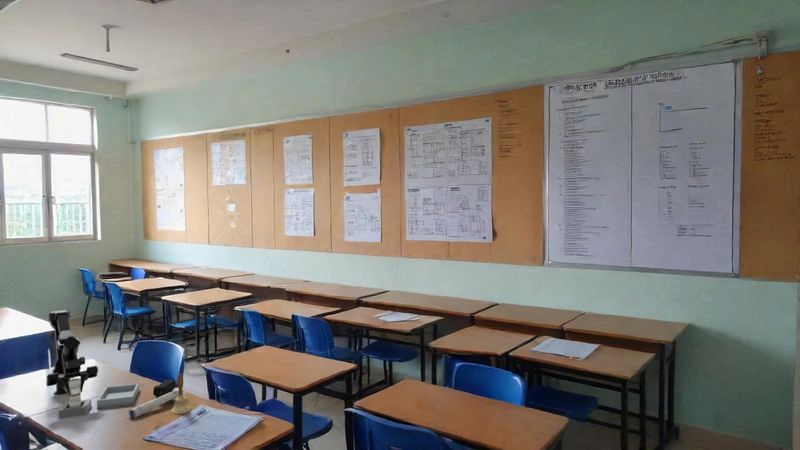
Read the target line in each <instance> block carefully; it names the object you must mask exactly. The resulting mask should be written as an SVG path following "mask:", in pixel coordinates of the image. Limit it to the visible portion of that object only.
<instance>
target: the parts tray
mask: <svg viewBox="0 0 800 450" xmlns="http://www.w3.org/2000/svg"><path fill="white" fill-rule="evenodd" d="M139 391H140V384H139V383H131V384H130V383H129V384H121V385H120V384H119V385H113V386H112V385H111V386H105V388H104V389H103V390H102V391H101V393H100V395H99V396H98V398H97V400H96V409H103V408H104V409H105V408H111V407H113V408H114V407H120V406H121V407H122V406H128V405H129V406H130V405H133V404H134V402H135V401H136V398H137V396H138V394H139Z"/></svg>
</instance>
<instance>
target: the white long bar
mask: <svg viewBox="0 0 800 450" xmlns="http://www.w3.org/2000/svg"><path fill="white" fill-rule="evenodd" d="M182 390H183V396H185V397H186V395H187V394H186V391H184V389H183V388H182ZM177 397H179V389H178V387H175V389H174V390H173V391H172V392H170V393H167V394H165V395H163V396H160V397H158V398H156V397H155V398H154V399H151V400H148V401H147V402H144V403H141V404H139V405H136V406H135V407H133V408H132V409H130V410H129V411H128V416H129V417H130V418H131V419H136V418H138V417H142V416H143V415H144V414H146V413H148V412H150V411H152V410H153V409H155V408H157V407H159V406H161V405H163V404H166V403H167V402H170V401H171V400H172V403H173V404H175V399H176V398H177Z"/></svg>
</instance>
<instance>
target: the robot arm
mask: <svg viewBox="0 0 800 450" xmlns="http://www.w3.org/2000/svg"><path fill="white" fill-rule="evenodd" d="M69 319H71V312H70V310H69V311H67V309H62V310H61V309H59V310H53V311H50V313H48V314H47V320H48V322H49V325H50V326H51V328H53V330H54V335H55V336H54V338H55V349H56V350H55V351H56V362H54V365H53V368H52V370H51V373H48V374H47V375H46V381H45V384H46V386H47V387H52V386H55V388H56V390H55V391H54V392H53V395H61V394H67V395H68V396H69V395H70V390H69V380H71V379H75V378H77V377H79V379H81V387H80V392H81V393H83V388H84V384H85V383H86V381H88V380H89V379H92V378H96V377H97V376H98V372H99V368H98V366H97V365H92V366H87V367H86V370H81V369H82V368H81V366H83V365H85V364H86V359H85V356H80V357H79V358H78V352H79V348H80V345H81V341H80V340H79V339H78V337H76V334H75V333H74V332H72V331H71V328H70V323H69Z"/></svg>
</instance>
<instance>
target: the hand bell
mask: <svg viewBox="0 0 800 450" xmlns="http://www.w3.org/2000/svg"><path fill="white" fill-rule="evenodd" d="M176 385H177V388H178V389H179V397H177V398H176V399H175V403H174V404H173V405H174V406H173V407H172V409H171V410H170V413H171V414H172V415H184V414H186V413H188V412H191V410H192V406H190V405H189V403H188V400H187V396H186V395H185V396H183V392H184V389H183V387H184V378H183V375H182V373H179V374H177V378H176ZM182 389H183V390H182Z"/></svg>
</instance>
